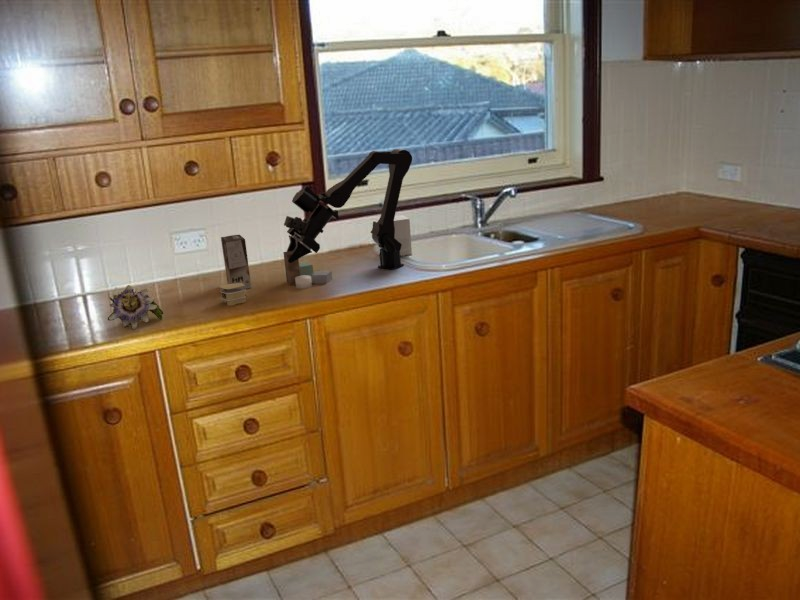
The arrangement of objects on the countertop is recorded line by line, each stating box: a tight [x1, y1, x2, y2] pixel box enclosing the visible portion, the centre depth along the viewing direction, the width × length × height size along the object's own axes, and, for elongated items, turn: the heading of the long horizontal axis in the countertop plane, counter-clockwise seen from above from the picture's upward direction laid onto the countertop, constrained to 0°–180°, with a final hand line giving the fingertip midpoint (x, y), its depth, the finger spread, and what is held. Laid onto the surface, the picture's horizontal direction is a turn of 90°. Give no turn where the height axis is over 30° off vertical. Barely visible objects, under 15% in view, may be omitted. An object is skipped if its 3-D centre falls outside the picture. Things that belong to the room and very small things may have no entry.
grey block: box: [311, 270, 333, 284], centre depth 238 cm, size 5×5×3 cm
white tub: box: [295, 275, 313, 290], centre depth 234 cm, size 5×5×3 cm
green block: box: [299, 261, 314, 277], centre depth 247 cm, size 6×4×4 cm, turn 30°
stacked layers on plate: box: [219, 283, 248, 306], centre depth 222 cm, size 10×9×6 cm
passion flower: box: [107, 284, 164, 330], centre depth 208 cm, size 13×12×14 cm
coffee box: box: [220, 234, 252, 290], centre depth 237 cm, size 9×6×16 cm
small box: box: [394, 214, 413, 257], centre depth 266 cm, size 8×6×13 cm
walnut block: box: [283, 250, 300, 286], centre depth 238 cm, size 4×4×10 cm
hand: (287, 260), depth 236 cm, fingers closed on walnut block, 4 cm apart
